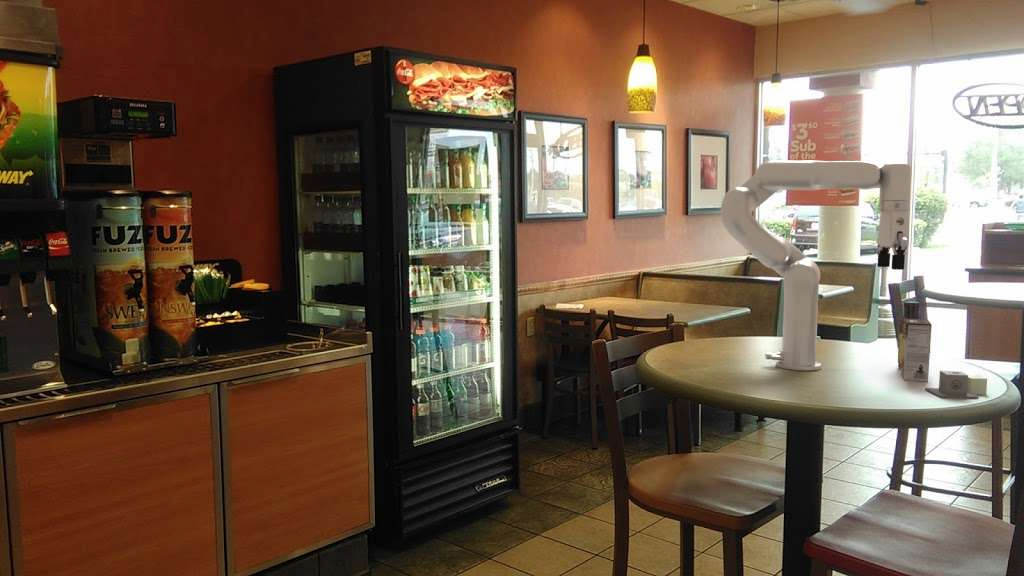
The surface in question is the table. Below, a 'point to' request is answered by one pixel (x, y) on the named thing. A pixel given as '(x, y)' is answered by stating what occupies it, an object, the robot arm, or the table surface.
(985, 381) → the sage block
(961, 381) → the grey cube
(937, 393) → the black mat
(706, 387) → the table surface
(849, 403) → the table surface
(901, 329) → the sauce bottle
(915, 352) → the coffee box
